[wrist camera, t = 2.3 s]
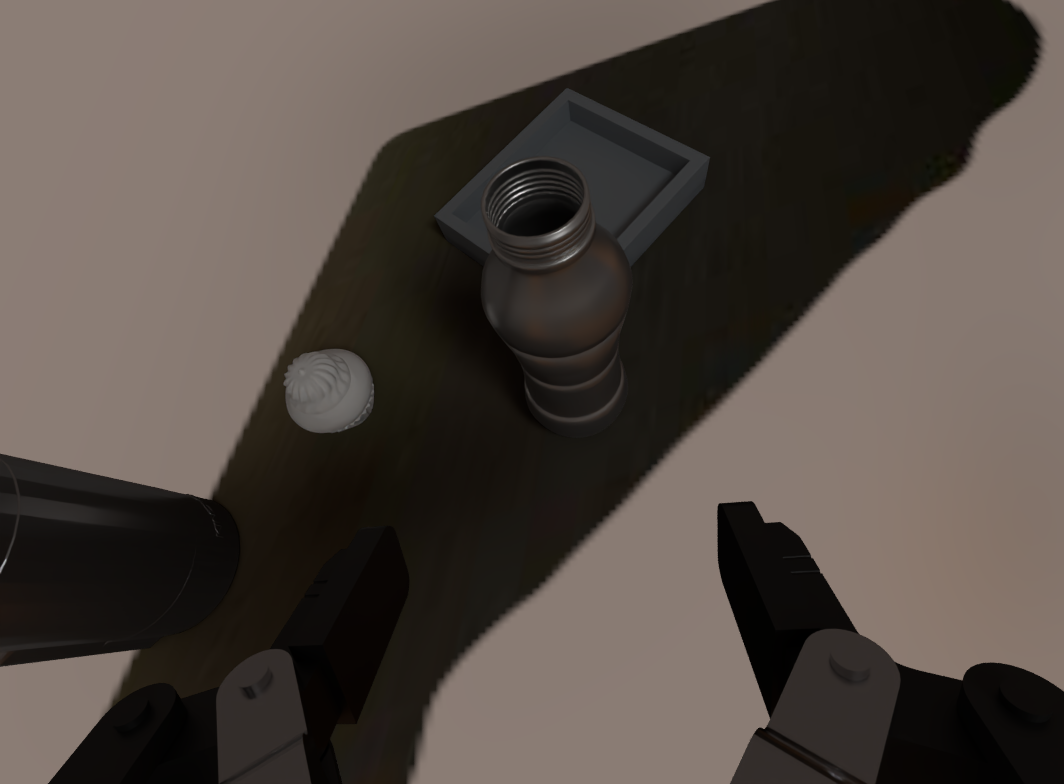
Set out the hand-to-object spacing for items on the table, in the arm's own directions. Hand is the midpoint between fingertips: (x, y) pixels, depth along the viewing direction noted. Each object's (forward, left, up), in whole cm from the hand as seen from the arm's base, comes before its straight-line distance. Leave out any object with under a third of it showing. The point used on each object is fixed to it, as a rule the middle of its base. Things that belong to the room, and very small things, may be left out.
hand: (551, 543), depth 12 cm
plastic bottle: (+8, +8, -20) cm, 23 cm away
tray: (+20, +19, -20) cm, 34 cm away
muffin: (-3, +21, -21) cm, 29 cm away
